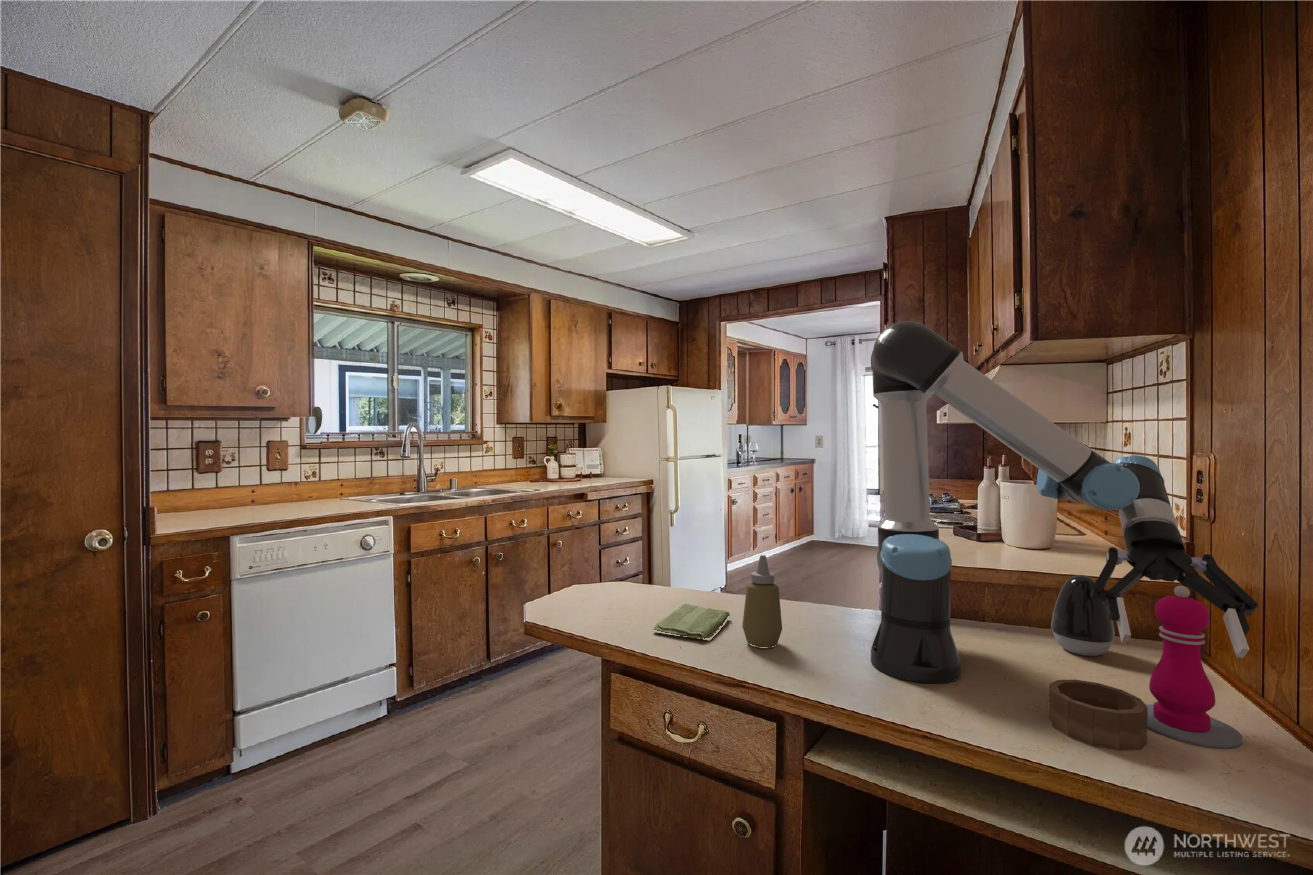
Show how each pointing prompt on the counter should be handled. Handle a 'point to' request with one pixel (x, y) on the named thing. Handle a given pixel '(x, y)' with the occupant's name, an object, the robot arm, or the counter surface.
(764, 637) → the squeeze bottle
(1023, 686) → the counter surface
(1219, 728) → the coaster
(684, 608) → the washcloth
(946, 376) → the robot arm
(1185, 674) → the pepper mill
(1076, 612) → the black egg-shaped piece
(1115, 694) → the brown wooden bowl
